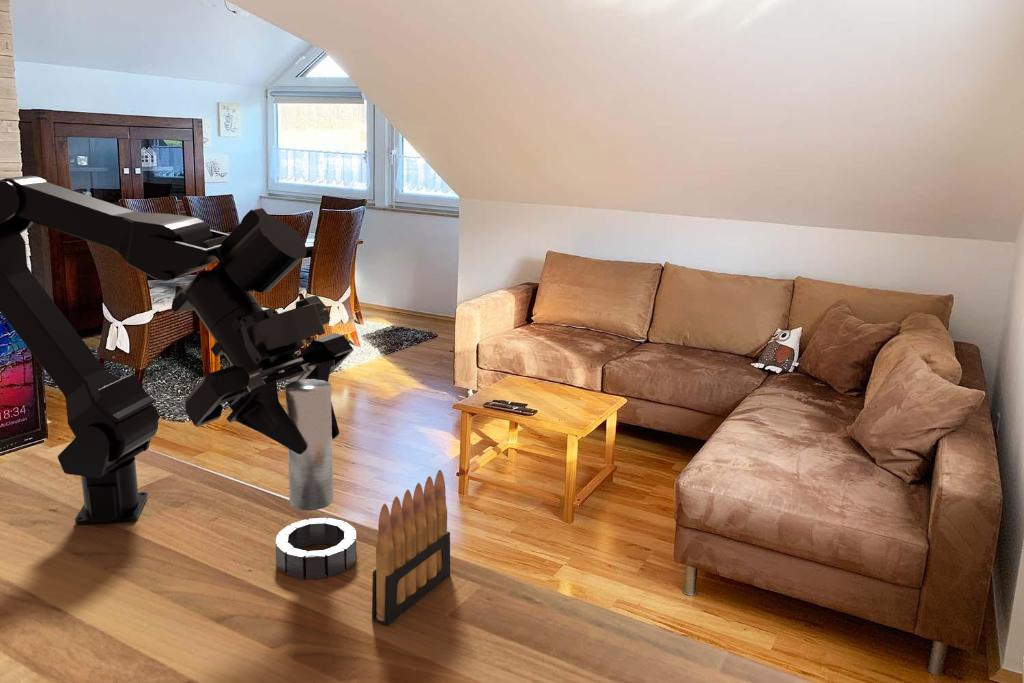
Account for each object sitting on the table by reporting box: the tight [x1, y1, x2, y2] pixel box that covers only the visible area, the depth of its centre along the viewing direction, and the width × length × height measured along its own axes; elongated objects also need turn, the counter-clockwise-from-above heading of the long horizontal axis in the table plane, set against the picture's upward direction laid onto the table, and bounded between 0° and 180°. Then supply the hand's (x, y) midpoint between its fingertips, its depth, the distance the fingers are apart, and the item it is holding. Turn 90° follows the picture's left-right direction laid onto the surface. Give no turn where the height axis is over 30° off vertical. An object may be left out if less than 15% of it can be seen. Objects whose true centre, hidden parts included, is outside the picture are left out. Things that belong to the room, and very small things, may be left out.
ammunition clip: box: [371, 469, 451, 626], centre depth 83 cm, size 11×2×12 cm, turn 150°
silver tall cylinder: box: [284, 379, 334, 511], centre depth 87 cm, size 4×4×12 cm
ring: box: [275, 517, 357, 580], centre depth 91 cm, size 8×8×2 cm
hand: (320, 444), depth 86 cm, fingers closed on silver tall cylinder, 4 cm apart
